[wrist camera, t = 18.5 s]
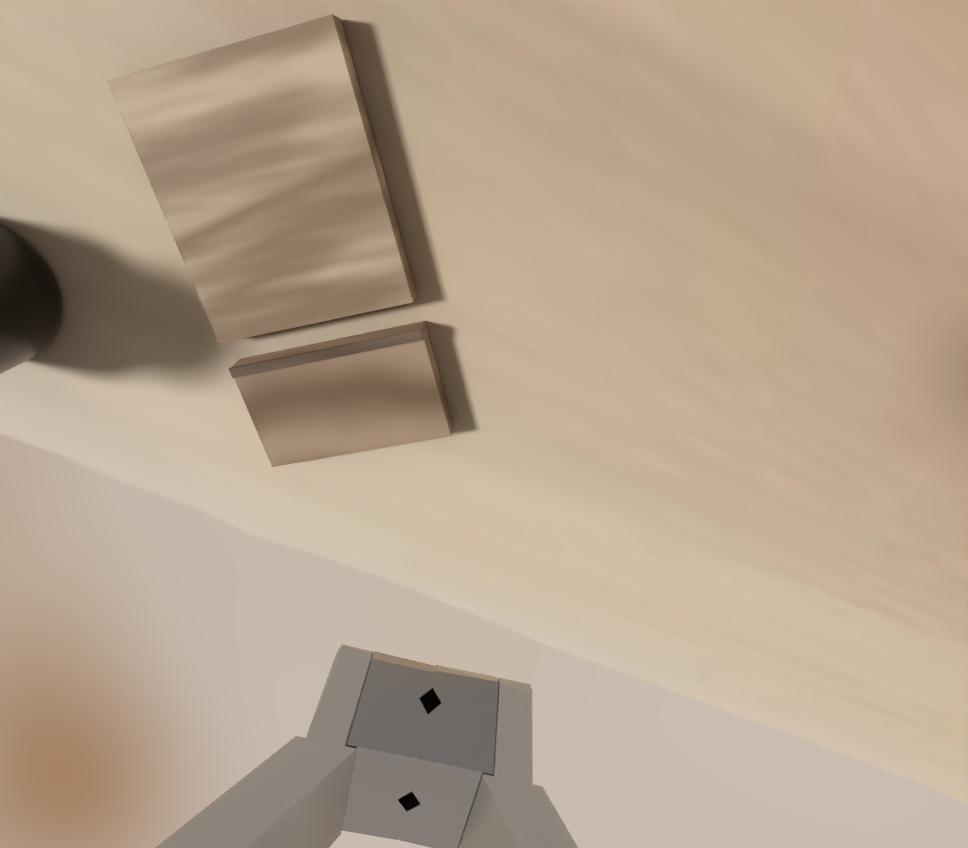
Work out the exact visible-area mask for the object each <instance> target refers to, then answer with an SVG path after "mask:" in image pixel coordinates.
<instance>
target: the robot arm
mask: <svg viewBox="0 0 968 848" xmlns="http://www.w3.org/2000/svg"><path fill="white" fill-rule="evenodd" d="M341 830H343V831H349V832H355V833H361V834H367V835H373V836H379V837H385V838H390V839H396V840H399V839H400V840H402V841H406V842H410V843H414V844H419V845H423V846H427V847H432V848H578V847H577V845H576V843H575V842H574V840H573V838H572V836H571V835H570V833H569V832H568V830H567V828H566V826H565V824H564V823H563V821H562V819H561V818H560V816H559V814H558V813H557V811H556V809H555V807H554V806H553V804H552V802H551V801H550V799H549V797H548V796H547V794H546V792H545V790H544V789H543V787H542V786H538V785H534V784H532V689H531V686H530V684H526V683H521V682H516V681H511V680H507V679H502V678H498V679H497V677H494V676H489V675H483V674H478V673H473V672H468V671H463V670H458V669H453V668H448V667H442V666H438V665H436V666H433V665H429V664H425V663H421V662H416V661H412V660H408V659H404V658H400V657H395V656H391V655H387V654H383V653H379V652H372V651H368V650H364V649H359V648H355V647H351V646H346V645H341V647H340V648H339V650H338V652H337V654H336V657H335V659H334V662H333V665H332V667H331V670H330V673H329V676H328V678H327V681H326V684H325V687H324V689H323V692H322V695H321V698H320V701H319V704H318V706H317V709H316V712H315V714H314V717H313V720H312V723H311V726H310V728H309V731H308V734H307V737H306V738H303V737H298V736H296V737H294V738H293V739H292V740H290V741H289V742H288V743H287V744H285V745H284V746H283V747H282V748H280V749H279V750H278V751H277V752H275V753H274V754H273V755H272V756H270V757H269V758H268V759H267V760H265V761H264V762H263V763H262V764H260V765H259V766H258V767H257V768H255V769H254V770H253V771H251V772H250V773H249V774H248V775H246V776H245V777H244V778H243V779H241V780H240V781H239V782H238V783H236V784H235V785H234V786H233V787H231V788H230V789H229V790H227V791H226V792H225V793H224V794H222V795H221V796H220V797H219V798H218V799H216V800H215V801H214V802H212V803H211V804H210V805H209V806H207V807H206V808H205V809H204V810H202V811H201V812H200V813H198V814H197V815H196V816H195V817H194V818H192V819H191V820H190V821H188V822H187V823H186V824H185V825H183V826H182V827H181V828H180V829H178V830H177V831H176V832H175V833H173V834H172V835H171V836H170V837H168V838H167V839H166V840H164V841H163V842H162V843H161V844H159V845H158V846H157V847H156V848H329V847H330V846H331V845H332V843H333V842H334V841H335V840H336V839H337V838H338V837H339V836H340V834H341Z"/></svg>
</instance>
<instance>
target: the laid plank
mask: <svg viewBox="0 0 968 848" xmlns="http://www.w3.org/2000/svg"><path fill="white" fill-rule="evenodd" d="M229 371H230V373H231V376H232V378H235V381H236V383H237V385H238V388H239V390H240V392H241V395H242V397H243V399H244V402H245V404H246V406H247V409H248V411H249V413H250V416H251V418H252V421H253V423H254V425H255V428H256V430H257V432H258V435H259V437H260V439H261V442H262V444H263V446H264V449H265V451H266V453H267V456H268V458H269V460H270V463H271V465H272V467H275V466H281V465H287V464H292V463H298V462H304V461H309V460H315V459H321V458H327V457H332V456H338V455H344V454H349V453H355V452H361V451H367V450H372V449H378V448H384V447H389V446H395V445H401V444H407V443H412V442H418V441H424V440H429V439H435V438H441V437H447V436H451V433H452V429H453V421H452V417H451V414H450V410H449V407H448V403H447V399H446V396H445V392H444V389H443V385H442V381H441V378H440V374H439V370H438V367H437V363H436V360H435V356H434V352H433V349H432V345H431V342H430V338H429V334H428V331H427V327H426V323H425V321H423V322H418V323H413V324H408V325H403V326H398V327H394V328H389V329H384V330H379V331H374V332H369V333H364V334H360V335H355V336H350V337H345V338H340V339H335V340H331V341H326V342H321V343H316V344H311V345H306V346H301V347H297V348H292V349H287V350H282V351H277V352H272V353H267V354H263V355H258V356H253V357H248V358H243V359H240V360H239V361H237V362H236V363H235V364H234V365H233V366H232V367H230V368H229Z"/></svg>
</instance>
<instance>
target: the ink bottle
mask: <svg viewBox="0 0 968 848" xmlns="http://www.w3.org/2000/svg"><path fill="white" fill-rule="evenodd" d="M60 319H61V302H60V295H59V291H58V288H57V285H56V282H55V280H54V278H53V276H52V274H51V272H50V270H49V269H48V267H47V266H46V264H45V263H44V262H43V260H42V259H41V258H40V257H39V255H38V254H37V253H36V252H35V251H34V250H33V249H32V248H31V247H30V246H29V245H28V244H26V243H25V242H24V241H23V240H22V239H20V238H19V237H18V236H16V235H15V234H13V233H12V232H10V231H9V230H7V229H5V228H4V227H2V226H0V374H1V373H3V372H5V371H7V370H9V369H11V368H13V367H15V366H17V365H19V364H21V363H23V362H25V361H27V360H29V359H31V358H33V357H35V356H37V355H39V354H40V353H41V352H43V351H44V350H45V349H46V348H47V347H48V346H49V345H50V344H51V342H52V341H53V339H54V338H55V336H56V334H57V331H58V328H59V324H60Z"/></svg>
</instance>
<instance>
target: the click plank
mask: <svg viewBox="0 0 968 848" xmlns="http://www.w3.org/2000/svg"><path fill="white" fill-rule="evenodd" d="M107 82H108V85H109V87H110V89H111V92H112V94H113V96H114V99H115V101H116V103H117V106H118V108H119V111H120V113H121V115H122V118H123V120H124V122H125V125H126V127H127V129H128V132H129V134H130V136H131V139H132V141H133V143H134V146H135V148H136V150H137V153H138V155H139V157H140V160H141V162H142V165H143V167H144V169H145V172H146V174H147V176H148V179H149V181H150V183H151V186H152V188H153V190H154V193H155V195H156V197H157V200H158V202H159V204H160V207H161V209H162V211H163V214H164V216H165V219H166V221H167V223H168V226H169V228H170V230H171V233H172V235H173V237H174V240H175V242H176V244H177V247H178V249H179V251H180V254H181V256H182V258H183V261H184V263H185V266H186V268H187V270H188V273H189V275H190V277H191V280H192V282H193V284H194V287H195V289H196V291H197V294H198V296H199V298H200V301H201V303H202V305H203V308H204V310H205V312H206V315H207V317H208V320H209V322H210V324H211V327H212V329H213V331H214V334H215V336H216V338H217V341H218V343H223V342H228V341H233V340H238V339H242V338H247V337H252V336H256V335H261V334H266V333H271V332H275V331H280V330H285V329H290V328H294V327H299V326H304V325H308V324H313V323H318V322H323V321H327V320H332V319H337V318H341V317H346V316H351V315H356V314H360V313H365V312H370V311H375V310H379V309H384V308H389V307H393V306H398V305H403V304H408V303H412V302H414V300H415V298H416V297H417V291H416V287H415V284H414V280H413V278H412V274H411V271H410V267H409V264H408V260H407V256H406V253H405V249H404V245H403V242H402V238H401V235H400V231H399V227H398V224H397V220H396V217H395V213H394V209H393V206H392V202H391V198H390V195H389V191H388V188H387V184H386V180H385V177H384V173H383V170H382V166H381V162H380V159H379V155H378V151H377V148H376V144H375V141H374V137H373V133H372V130H371V126H370V123H369V119H368V115H367V112H366V108H365V105H364V101H363V97H362V94H361V90H360V86H359V83H358V79H357V76H356V72H355V68H354V65H353V61H352V58H351V54H350V50H349V47H348V43H347V39H346V36H345V32H344V29H343V25H342V21H341V19H340V18H338V17H336V16H334V15H329V16H325V17H322V18H319V19H315V20H312V21H308V22H305V23H302V24H298V25H295V26H291V27H288V28H284V29H281V30H278V31H274V32H271V33H267V34H264V35H261V36H257V37H254V38H250V39H247V40H244V41H240V42H237V43H233V44H230V45H227V46H223V47H220V48H216V49H213V50H210V51H206V52H203V53H199V54H196V55H192V56H189V57H186V58H182V59H179V60H175V61H172V62H169V63H165V64H162V65H158V66H155V67H152V68H148V69H145V70H141V71H138V72H135V73H131V74H128V75H124V76H121V77H117V78H114V79H111V80H107Z"/></svg>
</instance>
